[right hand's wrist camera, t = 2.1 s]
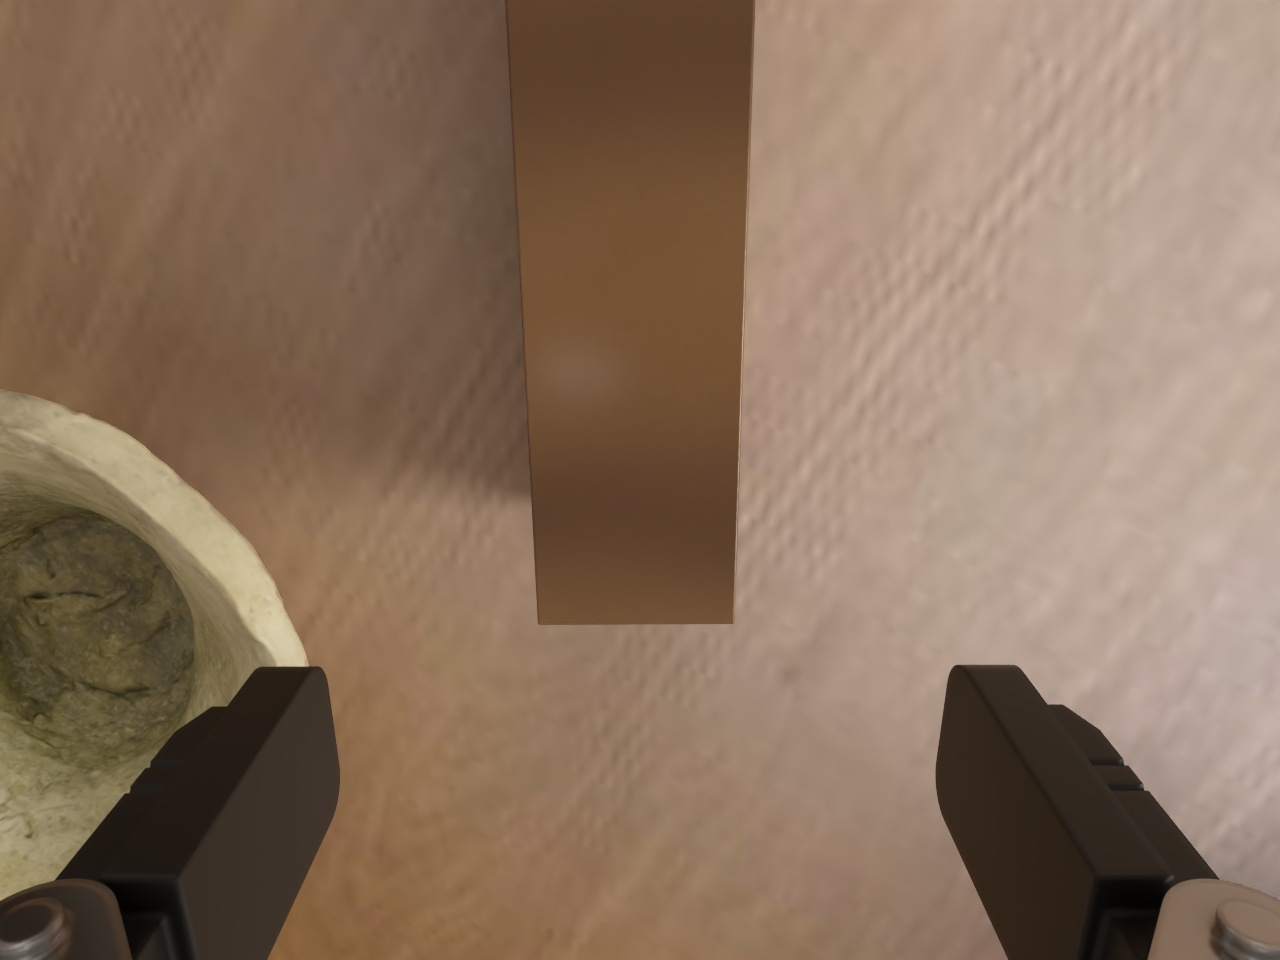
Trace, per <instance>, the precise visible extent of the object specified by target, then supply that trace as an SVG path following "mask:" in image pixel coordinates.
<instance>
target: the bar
mask: <svg viewBox="0 0 1280 960" xmlns="http://www.w3.org/2000/svg"><path fill="white" fill-rule="evenodd" d="M505 3H506V22H507V41H508V60H509V79H510V98H511V117H512V137H513V156H514V175H515V194H516V213H517V232H518V251H519V270H520V289H521V308H522V328H523V347H524V366H525V385H526V404H527V423H528V442H529V461H530V480H531V499H532V519H533V538H534V557H535V576H536V595H537V614H538V623H539V624H540V625H575V624H733V623H734V621H735V593H736V563H737V533H738V503H739V473H740V443H741V413H742V383H743V353H744V323H745V293H746V263H747V233H748V203H749V173H750V143H751V113H752V83H753V53H754V23H755V0H505Z"/></svg>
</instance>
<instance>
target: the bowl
mask: <svg viewBox="0 0 1280 960" xmlns="http://www.w3.org/2000/svg"><path fill="white" fill-rule="evenodd" d="M261 666H309V664H308V661H307V657H306V653H305V650H304V647H303V645H302V643H301V641H300V639H299V637H298V635H297V633H296V631H295V629H294V627H293V625H292V621H291V619H290V618H289V617H288V615H287V612H286V610H285V609H284V604H283V600H282V598H281V596H280V594H279V592H278V589H277V587H276V584H275V582H274V580H273V578H272V577H271V575H270V574H269V572H268V571H267V570H266V568H265V566H264V564H263V563H262V561H261V559H260V558H259V556H258V554H257V553H256V551H255V549H254V548H253V546H252V545H251V544H250V542H249V541H248V540H247V539H246V538H245V537H244V536H243V535H242V534H240V532H239V531H238V530H237V529H236V528H235V527H234V525H232V524H231V523H230V522H229V521H228V520H227V519H226V518H225V517H224V516H223V515H222V514H221V513H220V512H219V511H218V510H217V509H216V508H215V507H213V506H212V505H211V504H210V503H209V502H208V501H207V500H206V498H204V497H203V496H202V495H201V494H200V493H199V492H198V491H197V490H195V489H194V488H192V487H191V486H189V485H188V484H187V483H186V482H184V481H183V480H182V479H181V478H180V477H179V476H178V475H177V474H176V472H175V471H174V470H173V469H172V468H171V467H169V466H168V465H167V464H165V463H164V462H163V461H162V460H160V459H159V458H158V457H156V456H155V455H154V454H152V453H151V452H150V451H149V450H148V449H147V448H146V447H145V446H144V445H143V444H142V443H140V442H139V441H137V440H136V439H134V438H133V437H131V436H130V435H129V434H127V433H125V432H124V431H122V430H120V429H118V428H116V427H114V426H112V425H110V424H108V423H107V422H105V421H102V420H98V419H95V418H93V417H91V416H89V415H87V414H85V413H83V412H76V411H73V410H71V409H69V408H67V407H66V406H64V405H61V404H59V403H55V402H52V401H49V400H46V399H43V398H40V397H38V396H34V395H29V394H25V393H22V392H13V391H9V390H4V389H0V901H1V900H3V899H4V898H6V897H8V896H10V895H13V894H15V893H17V892H19V891H22V890H24V889H27V888H30V887H33V886H36V885H39V884H43V883H47V882H51V881H54V880H55V879H56V878H57V876H58V875H59V874H60V873H61V872H62V870H63V869H64V868H65V867H66V865H67V864H68V863H69V862H70V860H71V859H72V858H73V857H74V855H75V854H76V853H77V852H78V851H79V849H80V848H81V847H82V846H83V844H84V843H85V842H86V841H87V839H88V838H89V837H90V836H91V834H92V833H93V832H94V831H95V830H96V828H97V827H98V826H99V825H100V823H101V822H102V821H103V820H104V818H105V817H106V816H107V815H108V813H109V812H110V811H111V810H112V809H113V807H114V806H115V805H116V804H117V802H118V801H119V800H120V799H121V797H122V796H123V795H124V794H125V793H129V792H130V786H131V785H132V784H133V783H134V781H135V780H136V779H137V778H138V776H139V775H140V774H141V773H142V772H143V770H144V769H145V768H150V764H151V763H150V762H151V760H152V759H153V758H154V757H155V755H156V754H157V753H158V752H159V751H160V749H161V748H162V747H163V746H164V744H165V743H166V742H167V741H168V739H169V738H170V737H171V736H172V734H173V733H174V732H175V731H177V730H178V729H180V728H181V727H183V726H184V725H185V724H187V723H188V722H190V721H191V720H193V719H194V718H196V717H197V716H199V715H200V714H202V713H203V712H204V711H206V710H207V709H209V708H210V707H212V706H228V704H229V703H230V702H231V700H232V699H233V698H234V696H235V695H236V694H237V692H238V691H239V690H240V688H241V687H242V686H243V684H244V683H245V682H246V680H247V679H248V678H249V676H250V675H251V674H252V673H253V671H254V670H255V669H257V668H258V667H261Z"/></svg>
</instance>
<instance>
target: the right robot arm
mask: <svg viewBox="0 0 1280 960" xmlns="http://www.w3.org/2000/svg"><path fill="white" fill-rule="evenodd" d="M150 763H151V764H150V768H145V769H144V770H143V772H142V773H141V774H140V775H139V776H138V778H137V779H136V780H135V781H134V783H133V784H132V785H131V786H130V792H129V793H125V794H124V795H123V796H122V797H121V799H120V800H119V801H118V802H117V804H116V805H115V806H114V807H113V809H112V810H111V811H110V812H109V813H108V815H107V816H106V817H105V818H104V820H103V821H102V822H101V823H100V825H99V826H98V827H97V828H96V830H95V831H94V832H93V833H92V834H91V836H90V837H89V838H88V839H87V841H86V842H85V843H84V844H83V846H82V847H81V848H80V849H79V851H78V852H77V853H76V854H75V855H74V857H73V858H72V859H71V860H70V862H69V863H68V864H67V865H66V867H65V868H64V869H63V870H62V872H61V873H60V874H59V875H58V876H57V878H56V879H55V880H54V881H51V882H47V883H43V884H39V885H36V886H33V887H30V888H27V889H24V890H22V891H19V892H17V893H15V894H13V895H10V896H8V897H6V898H4V899H3V900H1V901H0V960H267V959H268V957H269V954H270V952H271V950H272V948H273V946H274V944H275V942H276V939H277V937H278V935H279V933H280V931H281V929H282V926H283V924H284V922H285V920H286V918H287V916H288V914H289V911H290V909H291V907H292V905H293V903H294V901H295V898H296V896H297V894H298V892H299V890H300V888H301V886H302V883H303V881H304V879H305V877H306V875H307V873H308V871H309V868H310V866H311V864H312V862H313V860H314V858H315V855H316V853H317V851H318V849H319V847H320V845H321V843H322V840H323V838H324V836H325V834H326V832H327V830H328V827H329V825H330V823H331V821H332V818H333V816H334V813H335V809H336V805H337V801H338V795H339V786H340V768H339V760H338V753H337V745H336V738H335V731H334V724H333V717H332V710H331V703H330V696H329V689H328V683H327V678H326V675H325V673H324V671H323V669H322V668H320V667H317V666H261V667H258V668H257V669H255V670H254V671H253V673H252V674H251V675H250V676H249V678H248V679H247V680H246V682H245V683H244V684H243V686H242V687H241V688H240V690H239V691H238V692H237V694H236V695H235V696H234V698H233V699H232V700H231V702H230V703H229V704H228V706H212V707H210V708H209V709H207V710H206V711H204V712H203V713H202V714H200V715H199V716H197V717H196V718H194V719H193V720H191V721H190V722H188V723H187V724H185V725H184V726H183V727H181V728H180V729H178V730H177V731H175V732H174V733H173V734H172V736H171V737H170V738H169V739H168V741H167V742H166V743H165V744H164V746H163V747H162V748H161V749H160V751H159V752H158V753H157V754H156V755H155V757H154V758H153V759H152V760H151V762H150ZM936 789H937V796H938V802H939V806H940V810H941V813H942V816H943V818H944V820H945V823H946V825H947V827H948V829H949V831H950V834H951V836H952V838H953V840H954V842H955V844H956V847H957V849H958V851H959V853H960V855H961V857H962V860H963V862H964V864H965V866H966V868H967V871H968V873H969V875H970V877H971V879H972V881H973V884H974V886H975V888H976V890H977V892H978V895H979V897H980V899H981V901H982V903H983V905H984V908H985V910H986V912H987V914H988V916H989V918H990V921H991V923H992V925H993V927H994V929H995V932H996V934H997V936H998V938H999V940H1000V942H1001V945H1002V947H1003V949H1004V951H1005V953H1006V955H1007V958H1008V960H1280V901H1279V900H1277V899H1276V898H1274V897H1272V896H1270V895H1267V894H1265V893H1263V892H1261V891H1258V890H1256V889H1253V888H1250V887H1247V886H1244V885H1241V884H1237V883H1233V882H1229V881H1224V880H1220V879H1219V878H1218V877H1217V876H1216V874H1215V873H1214V872H1213V871H1212V869H1211V868H1210V867H1209V866H1208V864H1207V863H1206V862H1205V861H1204V859H1203V858H1202V857H1201V856H1200V854H1199V853H1198V852H1197V851H1196V849H1195V848H1194V847H1193V846H1192V844H1191V843H1190V842H1189V841H1188V839H1187V838H1186V837H1185V836H1184V834H1183V833H1182V832H1181V831H1180V829H1179V828H1178V827H1177V826H1176V824H1175V823H1174V822H1173V821H1172V819H1171V818H1170V817H1169V816H1168V814H1167V813H1166V812H1165V811H1164V809H1163V808H1162V807H1161V806H1160V805H1159V803H1158V802H1157V801H1156V800H1155V798H1154V797H1153V796H1152V795H1151V793H1150V792H1149V791H1144V788H1143V783H1142V782H1141V781H1140V780H1139V778H1138V777H1137V776H1136V775H1135V773H1134V772H1133V771H1132V770H1131V768H1130V767H1129V766H1124V763H1123V758H1122V757H1121V756H1120V755H1119V753H1118V752H1117V751H1116V750H1115V748H1114V747H1113V746H1112V745H1111V743H1110V742H1109V741H1108V740H1107V738H1106V737H1105V736H1104V735H1103V733H1102V732H1101V731H1100V730H1099V729H1098V728H1096V727H1095V726H1093V725H1092V724H1090V723H1089V722H1087V721H1086V720H1084V719H1083V718H1081V717H1080V716H1079V715H1077V714H1076V713H1074V712H1073V711H1071V710H1070V709H1068V708H1067V707H1065V706H1064V705H1047V703H1046V702H1045V701H1044V699H1043V698H1042V697H1041V695H1040V694H1039V693H1038V691H1037V690H1036V689H1035V687H1034V686H1033V685H1032V683H1031V682H1030V680H1029V679H1028V678H1027V676H1026V675H1025V674H1024V672H1023V671H1022V670H1021V669H1020V668H1019V667H1018V666H1016V665H955V666H954V667H953V668H952V670H951V672H950V674H949V677H948V682H947V689H946V696H945V704H944V711H943V718H942V725H941V732H940V740H939V747H938V754H937V761H936Z"/></svg>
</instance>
